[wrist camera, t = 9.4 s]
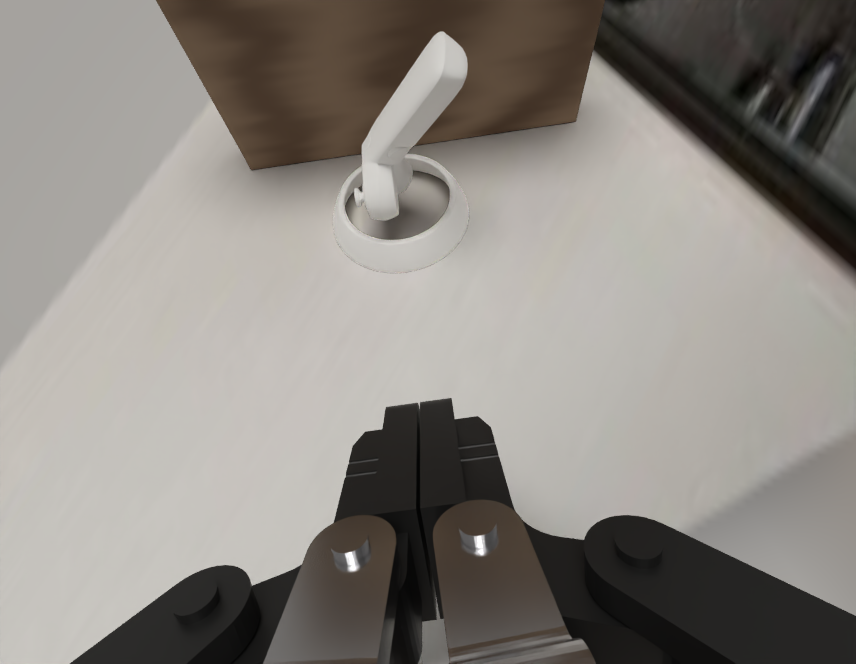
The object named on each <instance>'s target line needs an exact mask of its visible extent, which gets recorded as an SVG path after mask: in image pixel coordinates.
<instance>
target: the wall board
mask: <svg viewBox="0 0 856 664" xmlns="http://www.w3.org/2000/svg"><path fill="white" fill-rule="evenodd" d="M156 1H157V3H158V5H159V6H160V8H161V10H162V12H163V14H164V15H165V17H166V19H167V21H168V22H169V24H170V26H171V28H172V29H173V31H174V33H175V35H176V37H177V38H178V40H179V42H180V44H181V46H182V47H183V49H184V51H185V53H186V54H187V56H188V58H189V60H190V62H191V63H192V65H193V67H194V69H195V70H196V72H197V74H198V76H199V78H200V79H201V81H202V83H203V85H204V87H205V88H206V90H207V92H208V94H209V95H210V97H211V99H212V101H213V103H214V104H215V106H216V108H217V110H218V112H219V113H220V115H221V117H222V119H223V120H224V122H225V124H226V126H227V128H228V129H229V131H230V133H231V135H232V136H233V138H234V140H235V142H236V144H237V145H238V147H239V149H240V151H241V153H242V154H243V156H244V158H245V160H246V161H247V163H248V165H249V167H250V169H251V170H255V169H261V168H268V167H275V166H281V165H288V164H295V163H301V162H308V161H315V160H321V159H328V158H335V157H341V156H348V155H355V154H361V153H362V144H363V142H364V140H365V139H366V137H367V136H368V133H369V131H370V129H371V128H372V126H373V124H374V123H375V121H376V119H377V118H378V116H379V115H380V113H381V112H382V110H383V109H384V107H385V106H386V105H387V103H388V102H389V100H390V99H391V97H392V96H393V94H394V93H395V91H396V90H397V88H398V87H399V85H400V84H401V82H402V81H403V79H404V78H405V76H406V75H407V73H408V72H409V70H410V69H411V67H412V66H413V65H414V63H415V62H416V60H417V59H418V57H419V56H420V54H421V53H422V51H423V50H424V48H425V47H426V46H427V44H428V43H429V42H430V40H431V39H432V38H433V36H434V35H436V34H437V33H438V32H444V33H446V34H447V35H448V36H450V37H451V38H452V39H453V40H454V41H456V42H457V43H458V44H459V45H460V46H461V47H462V48H463V50H464V52H465V54H466V57H467V63H468V68H467V77H466V79H465V82H464V84H463V86H462V88H461V89H460V91H459V92H458V93H457V95H456V96H455V97H454V99H453V100H452V101H451V102H450V104H449V105H448V106H447V107H446V108H445V110H444V111H443V112H442V113H441V114H440V116H439V117H438V118H437V119H436V120H435V122H434V123H433V124H432V125H431V126H430V127H429V129H428V130H427V131H426V132H425V133H424V135H423V136H422V137H421V138H420V139H419V141H418V142H417V143H416V144H415V145H422V144H428V143H435V142H442V141H448V140H455V139H462V138H468V137H475V136H482V135H488V134H495V133H502V132H508V131H515V130H522V129H528V128H535V127H542V126H548V125H555V124H562V123H568V122H575V121H576V118H577V114H578V110H579V106H580V102H581V98H582V93H583V89H584V85H585V81H586V77H587V73H588V69H589V64H590V60H591V56H592V52H593V48H594V44H595V40H596V35H597V31H598V27H599V23H600V19H601V15H602V11H603V6H604V2H605V0H156ZM415 145H414V146H415Z"/></svg>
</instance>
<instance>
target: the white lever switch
mask: <svg viewBox="0 0 856 664" xmlns="http://www.w3.org/2000/svg"><path fill="white" fill-rule="evenodd" d="M467 68H468V63H467V57H466V54H465V52H464V50H463V48H462V47H461V46H460V45H459V44H458V43H457V42H456V41H454V40H453V39H452V38H451V37H450V36H448V35H447V34H446V33H444V32H438V33H437V34H436V35H434V36H433V38H432V39H431V40H430V42H429V43H428V44H427V46H426V47H425V48H424V50H423V51H422V53H421V54H420V56H419V57H418V59H417V60H416V62H415V63H414V65H413V66H412V67H411V69H410V70H409V72H408V73H407V75H406V76H405V78H404V79H403V81H402V82H401V84H400V85H399V87H398V88H397V90H396V91H395V93H394V94H393V96H392V97H391V99H390V100H389V102H388V103H387V105H386V106H385V107H384V109H383V110H382V112H381V113H380V115H379V116H378V118H377V119H376V121H375V123H374V124H373V126H372V128H371V129H370V131H369V133H368V136H367V137H366V139H365V140H364V142H363V144H362V165H361V166H360V167H359V168H357V169H356V170H355V171H354V172H353V173H352V174H351V175H350V176H349V177H348V178H347V179H346V181H345V182H344V184H343V186H342V187H341V190H340V192H339V195H338V197H337V200H336V203H335V208H334V216H333V230H334V235H335V238H336V240H337V243H338V245H339V246H340V248H341V249H342V251H343V252H344V253H345V254H346V255H347V256H348V257H349V258H350V259H351V260H353V261H354V262H356V263H357V264H359V265H361V266H363V267H365V268H368V269H371V270H374V271H377V272H385V273H406V272H411V271H416V270H420V269H423V268H425V267H428V266H431V265H433V264H435V263H436V262H438V261H440V260H441V259H443V258H445V257H446V256H447V255H448V254H449V253H450V252H451V251H453V250H454V249H455V247H456V246H457V245H458V244H459V242H460V241H461V240H462V238H463V236H464V234H465V232H466V229H467V226H468V221H469V205H468V202H467V199H466V196H465V194H464V192H463V190H462V189H461V187H460V185H459V184H458V182H457V181H456V179H455V178H454V177H453V176H452V175H451V174H450V173H449V172H448V171H447V170H446V169H445V168H444V167H443V166H442V165H441V164H439V163H438V162H436V161H435V160H432V159H430V158H428V157H425V156H421V155H417V154H409V153H407V152H408V151H409V150H410V149H411V148H412V146H414V145H415V144H416V143H417V142H418V141H419V139H420V138H421V137H422V136H423V135H424V133H425V132H426V131H427V130H428V129H429V127H430V126H431V125H432V124H433V123H434V122H435V120H436V119H437V118H438V117H439V116H440V114H441V113H442V112H443V111H444V110H445V108H446V107H447V106H448V105H449V104H450V102H451V101H452V100H453V99H454V97H455V96H456V95H457V93H458V92H459V91H460V89H461V88H462V86H463V84H464V82H465V79H466V77H467ZM413 171H421V172H425V173H429V174H431V175H434V176H436V177H438V178H440V179H442V180H443V181H444V182H445V183H446V184H447V185H448V187H449V190H450V199H449V203H448V207H447V209H446V211H445V213H444V215H443V216H442V217H441V218H440V220H439V221H438V222H437V223H436V224H434V225H433V226H432V227H431V228H430V229H428V230H426V231H424V232H423V233H421V234H418V235H416V236H413V237H410V238H405V239H399V240H385V239H378V238H375V237H371V236H368V235H367V234H365V233H363V232H361V231H360V230H358V229H357V228H356V227H355V226H354V225H353V224H352V223H351V221H350V220H349V219H348V216H347V214H346V211H345V204H346V202H347V200H348V198H349V197H350V195H351V194H352V193H353V192H354V197H355V202H356V205H357V207H360V206H361V204H362V202H365V206H366V209H367V210H368V213H369V216H370V218H371V219H374V220H382V221H386V220H389V219H392V218H394V217H396V216H397V215H398V214H399V202H398V194H400V193H402V192H404V191H405V190H406V189H407V187H408V186H409V184H410V182H411V180H412V176H413ZM362 184H363V185H362ZM361 185H362V188H363V192H360V190H359V189H358V187H360V186H361Z"/></svg>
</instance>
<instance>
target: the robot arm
mask: <svg viewBox="0 0 856 664" xmlns="http://www.w3.org/2000/svg"><path fill="white" fill-rule="evenodd" d="M436 597H437V603H438V608H439V614H440V619H444V623H445V631H446V638H447V645H448V653H449V661H450V663H449V664H856V616H854V615H852V614H850V613H848V612H846V611H844V610H842V609H840V608H838V607H836V606H834V605H832V604H830V603H827V602H825V601H823V600H821V599H819V598H817V597H815V596H813V595H810V594H808V593H807V592H804V591H802V590H800V589H798V588H796V587H794V586H792V585H790V584H788V583H786V582H784V581H781V580H779V579H777V578H775V577H773V576H771V575H769V574H767V573H765V572H763V571H760V570H758V569H756V568H754V567H752V566H750V565H748V564H746V563H744V562H742V561H739V560H738V559H735V558H733V557H731V556H729V555H727V554H725V553H723V552H721V551H719V550H716V549H714V548H712V547H710V546H708V545H706V544H704V543H702V542H700V541H698V540H696V539H694V538H691V537H689V536H687V535H685V534H683V533H681V532H679V531H677V530H675V529H673V528H671V527H668V526H666V525H664V524H662V523H660V522H657V521H655V520H652V519H648V518H645V517H639V516H630V515H623V516H614V517H609V518H606V519H603V520H601V521H599V522H597V523H596V524H595V525H593V526H592V527H591V528H590V530H589V531H588V532H587V534H586V536H585V540H579V539H572V538H564V537H558V536H552V535H549V534H546V533H543V532H540V531H538V530H536V529H534V528H532V527H531V526H529V525H528V524H526V523H525V522H524V521H523V520H522V519H521V518H520V516H519V515H518V514H517V513H516V511H515V510H514V507H513V504H512V501H511V497H510V494H509V490H508V487H507V483H506V480H505V476H504V473H503V469H502V465H501V462H500V458H499V456H498V451H497V448H496V445H495V441H494V437H493V434H492V430H491V427H490V426H489V425H487V424H486V423H485V422H484V421H483V420H482V419H480V418H479V417H478V416H476V417H469V418H462V419H454V412H453V406H452V399H451V398H448V399H441V400H434V401H426V402H420V409H419V405H418V403H413V404H405V405H398V406H391V407H386V410H385V417H384V423H383V429H382V430H375V431H368V432H365V433H364V434H363V435H362V436H361V437H360V438H359V440H358V441H357V442H356V443H355V444H354V445H353V448H352V452H351V456H350V460H349V465H348V468H347V472H346V478H345V480H344V484H343V488H342V492H341V496H340V500H339V504H338V508H337V512H336V516H335V520H334V523H333V524H331V525H330V526H328V527H327V528H325V529H324V530H323V531H322V532H320V533H319V534H318V535H317V536H316V538H315V539H314V540H313V541H312V543H311V544H310V546H309V548H308V550H307V553H306V555H305V558H304V560H303V563H302V565H300V566H299V567H297V568H295V569H293V570H291V571H288V572H286V573H284V574H281V575H279V576H276V577H274V578H271V579H268V580H266V581H263V582H261V583H258V584H256V585H253V586H252V584H251V582H250V579H249V577H248V575H247V573H246V572H245V571H244V570H242V569H240V568H238V567H235V566H229V565H223V566H215V567H211V568H207V569H204V570H201V571H199V572H197V573H195V574H192V575H191V576H189V577H187V578H185V579H184V580H182V581H181V582H179V583H178V584H176V585H175V586H174V587H172V588H171V589H170V590H168V591H167V592H165V593H164V594H163V595H161V596H160V597H159V598H157V599H156V600H155V601H153V602H152V603H151V604H149V605H148V606H147V607H145V608H144V609H143V610H141V611H140V612H139V613H137V614H136V615H135V616H133V617H132V618H131V619H129V620H128V621H126V622H125V623H124V624H122V625H121V626H120V627H118V628H117V629H116V630H114V631H113V632H112V633H110V634H109V635H108V636H106V637H105V638H104V639H102V640H101V641H100V642H98V643H97V644H96V645H94V646H93V647H91V648H90V649H89V650H87V651H86V652H85V653H83V654H82V655H81V656H79V657H78V658H77V659H75V660H74V661H73V662H71V663H70V664H422V659H421V652H422V621H430V620H437V617H436Z"/></svg>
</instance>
